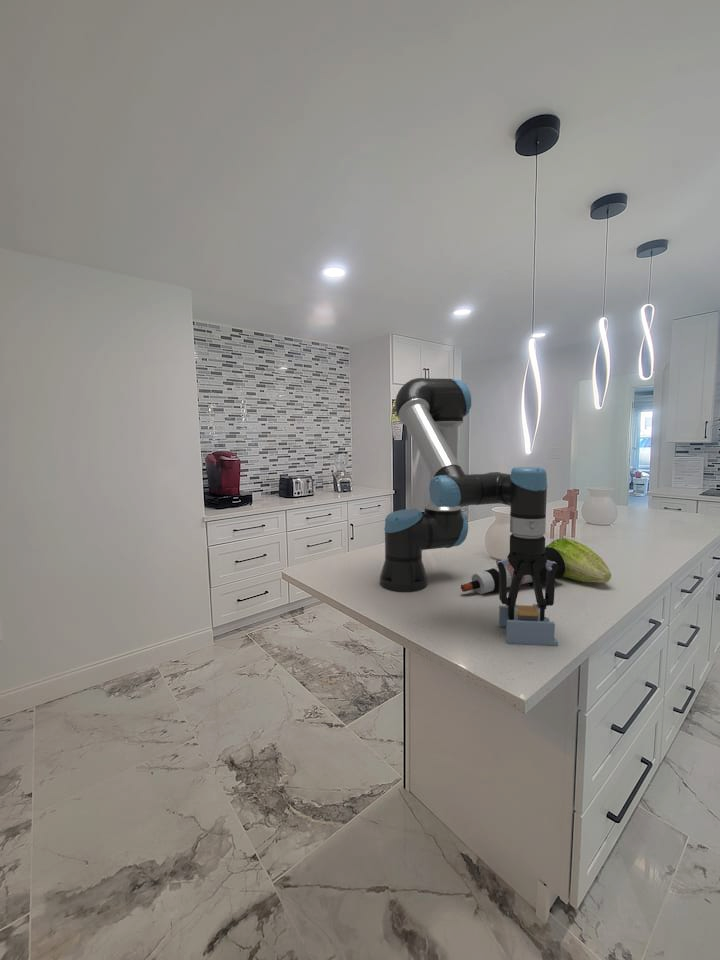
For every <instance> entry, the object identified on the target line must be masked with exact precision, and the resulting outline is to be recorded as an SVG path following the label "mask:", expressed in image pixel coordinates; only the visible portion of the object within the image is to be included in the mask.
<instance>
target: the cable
mask: <svg viewBox="0 0 720 960" xmlns="http://www.w3.org/2000/svg"><path fill="white" fill-rule="evenodd" d="M545 547H546V546H545ZM545 556H546V558H547V560H549V561H554V562H555V563H557V564H558V565H559V568H558V570H557V572H556V575H555V580H558V579H560V578H562V577H564V576H563V575H564V573H565V563H564V560H563V558H562V556H561V555H560V553H559V552H558V551H557V550H555V549H554V548H551V547H546V548H545ZM513 572H514V569H513V567H512V566H511V565H510V564H508V568H507V569H506V575H507V589H510V587H511V583H512V579H513ZM546 572H547V569H546V564H545V565H544V567H543V568H542V569H541V570H540V572H539V574H540V581H541V585H543V584H546ZM523 584H525V585H528V586H531V587H534V586H533V581H532V577H531V575H524V576H523V578H522V580H521V583H520V586H521V585H523ZM460 590H461V592H463V593H466V592H469V591H475V592H476V593H478V594H480V595H484V594H488V593H490V592H491V593H492V592H495V591H499V569H498V566H496V567H492V568H490V569H486V570H483V571H481V572H477V573H476V572H475V573H473V574H472V576H471V581H469V582H467V583H463V584H460Z"/></svg>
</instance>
